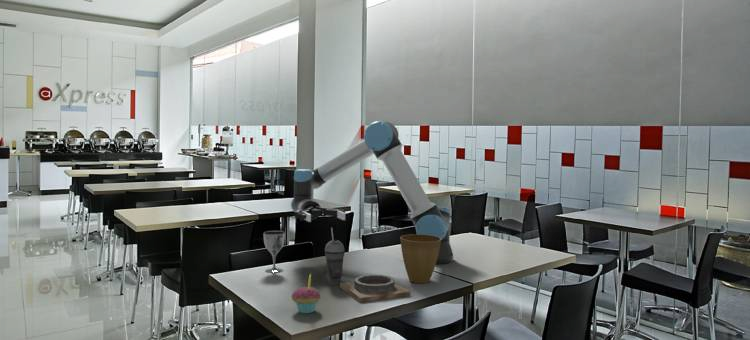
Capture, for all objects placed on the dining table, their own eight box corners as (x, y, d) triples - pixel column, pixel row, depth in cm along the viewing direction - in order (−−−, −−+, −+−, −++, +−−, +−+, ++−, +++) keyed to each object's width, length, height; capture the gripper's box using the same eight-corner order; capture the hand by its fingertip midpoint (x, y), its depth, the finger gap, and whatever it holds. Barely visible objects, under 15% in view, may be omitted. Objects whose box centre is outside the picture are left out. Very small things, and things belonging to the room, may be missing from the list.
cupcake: (326, 310, 157) (326, 271, 156) (304, 317, 151) (304, 277, 150) (307, 304, 163) (307, 266, 162) (285, 311, 157) (285, 271, 156)
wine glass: (259, 272, 201) (259, 233, 200) (270, 267, 208) (270, 230, 207) (278, 274, 198) (278, 235, 197) (288, 269, 206) (288, 231, 205)
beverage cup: (341, 286, 183) (342, 229, 181) (321, 285, 184) (322, 229, 183) (346, 280, 190) (347, 226, 188) (327, 279, 191) (327, 225, 190)
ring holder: (386, 281, 189) (387, 271, 189) (410, 295, 172) (410, 284, 172) (340, 287, 181) (340, 276, 181) (360, 302, 165) (360, 290, 165)
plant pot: (423, 289, 180) (423, 243, 179) (391, 280, 191) (391, 237, 190) (448, 280, 191) (449, 237, 190) (417, 273, 201) (417, 232, 200)
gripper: (337, 217, 218) (357, 225, 199) (279, 219, 208) (294, 229, 189) (338, 199, 218) (358, 206, 199) (279, 201, 207) (295, 208, 188)
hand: (327, 217), depth 194 cm, fingers open, 13 cm apart
